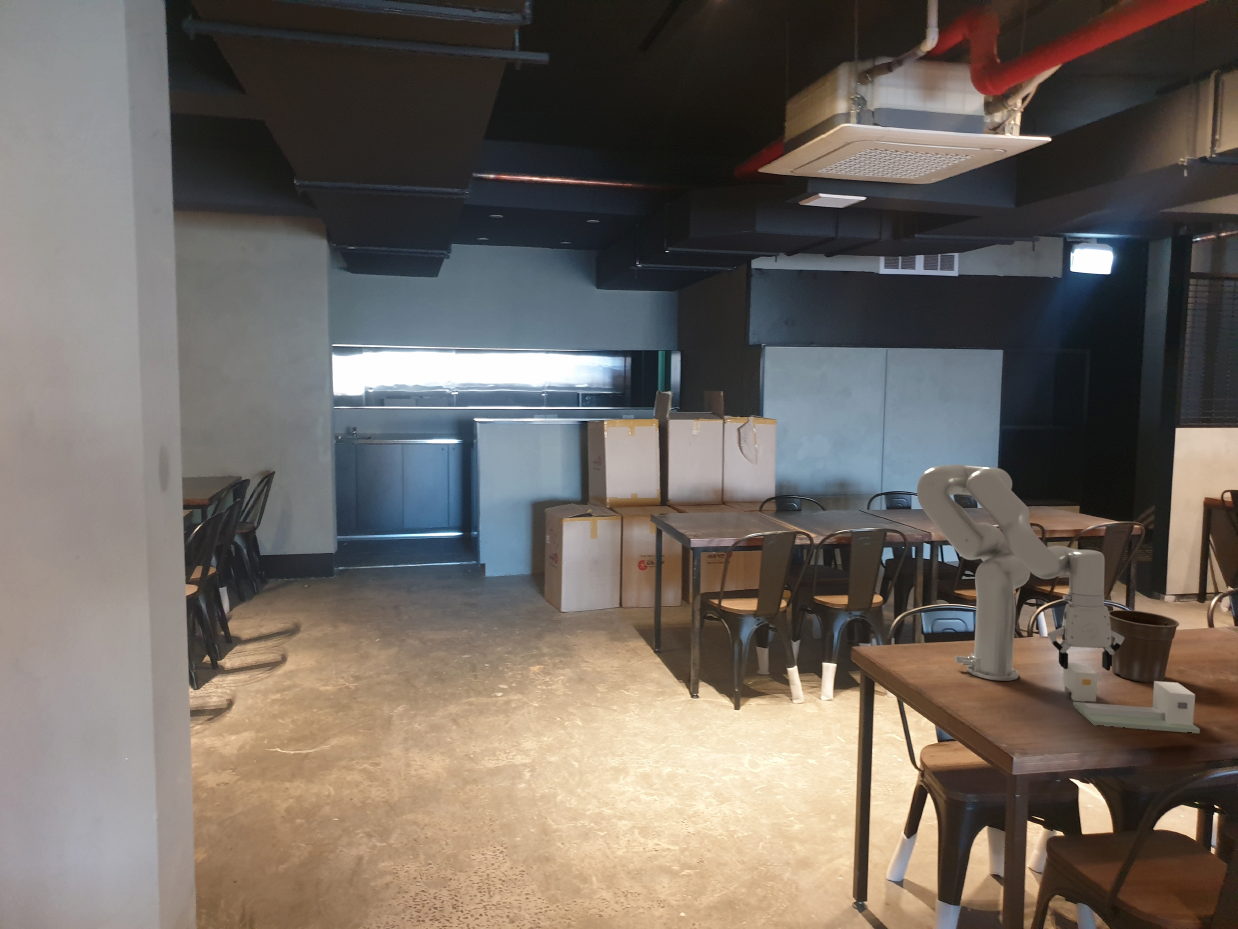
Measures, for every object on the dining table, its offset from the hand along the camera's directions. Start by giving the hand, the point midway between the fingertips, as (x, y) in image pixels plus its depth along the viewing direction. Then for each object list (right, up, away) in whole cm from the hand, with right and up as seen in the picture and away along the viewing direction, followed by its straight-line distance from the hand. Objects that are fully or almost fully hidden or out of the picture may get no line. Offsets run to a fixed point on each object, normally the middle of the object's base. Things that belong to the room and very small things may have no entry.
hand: (1085, 668), depth 206 cm
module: (-1, -7, +1) cm, 7 cm away
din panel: (+4, -9, -14) cm, 16 cm away
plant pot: (+24, -7, +17) cm, 30 cm away
